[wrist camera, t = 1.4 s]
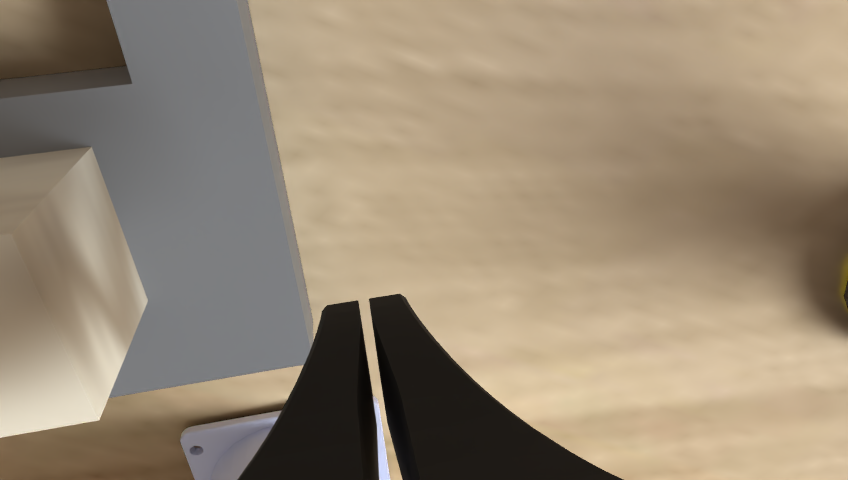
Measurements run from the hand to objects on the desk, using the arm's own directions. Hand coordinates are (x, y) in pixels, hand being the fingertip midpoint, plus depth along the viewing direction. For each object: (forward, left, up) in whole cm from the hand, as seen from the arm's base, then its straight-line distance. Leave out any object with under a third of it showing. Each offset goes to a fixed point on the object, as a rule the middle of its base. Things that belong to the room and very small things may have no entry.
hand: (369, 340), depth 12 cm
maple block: (0, +9, -7) cm, 11 cm away
